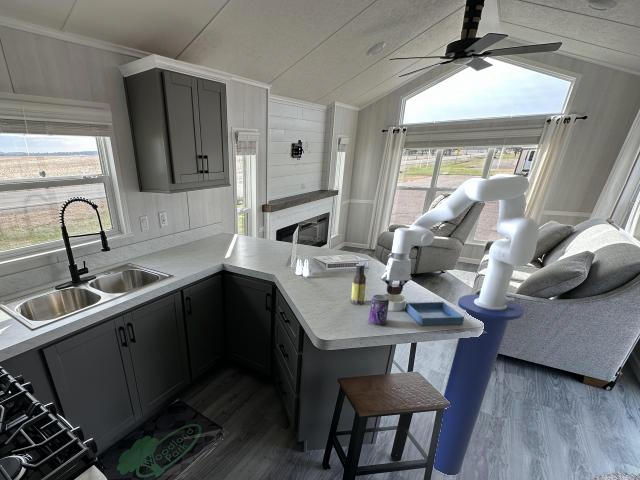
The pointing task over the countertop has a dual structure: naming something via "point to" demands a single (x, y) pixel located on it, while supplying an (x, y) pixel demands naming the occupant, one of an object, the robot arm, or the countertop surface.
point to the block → (395, 289)
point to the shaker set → (304, 269)
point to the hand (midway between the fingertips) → (394, 292)
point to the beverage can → (379, 309)
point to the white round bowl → (396, 302)
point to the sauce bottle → (358, 285)
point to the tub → (434, 313)
